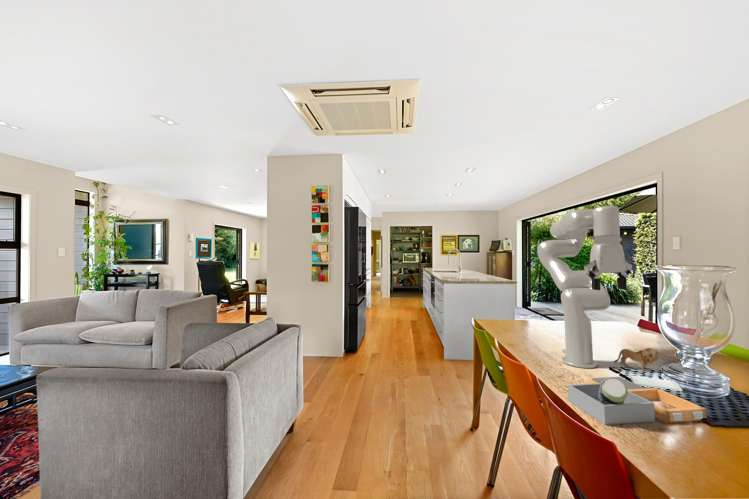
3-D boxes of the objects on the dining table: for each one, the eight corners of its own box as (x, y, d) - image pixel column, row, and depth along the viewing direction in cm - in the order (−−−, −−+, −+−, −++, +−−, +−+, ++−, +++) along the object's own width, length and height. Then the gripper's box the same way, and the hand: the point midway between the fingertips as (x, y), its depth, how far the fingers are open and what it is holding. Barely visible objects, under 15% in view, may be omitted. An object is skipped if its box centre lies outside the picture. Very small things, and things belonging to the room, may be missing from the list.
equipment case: (588, 382, 113) (588, 373, 113) (619, 380, 114) (619, 372, 114) (668, 423, 84) (667, 412, 85) (709, 421, 85) (708, 409, 85)
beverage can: (611, 386, 96) (612, 367, 89) (632, 409, 90) (634, 391, 83) (592, 395, 96) (591, 376, 90) (611, 418, 90) (612, 400, 84)
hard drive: (634, 382, 109) (682, 389, 103) (630, 374, 116) (675, 380, 110) (634, 387, 109) (683, 394, 103) (630, 379, 116) (675, 385, 110)
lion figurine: (661, 371, 122) (660, 347, 122) (657, 374, 119) (656, 350, 119) (616, 361, 134) (615, 340, 134) (611, 364, 131) (610, 342, 131)
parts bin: (568, 401, 99) (567, 384, 99) (611, 398, 100) (610, 382, 100) (605, 425, 85) (604, 406, 85) (655, 421, 86) (654, 403, 86)
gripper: (620, 241, 116) (623, 287, 116) (576, 242, 115) (578, 289, 115) (639, 240, 109) (641, 289, 108) (591, 241, 108) (594, 291, 107)
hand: (609, 289), depth 111 cm, fingers open, 9 cm apart
